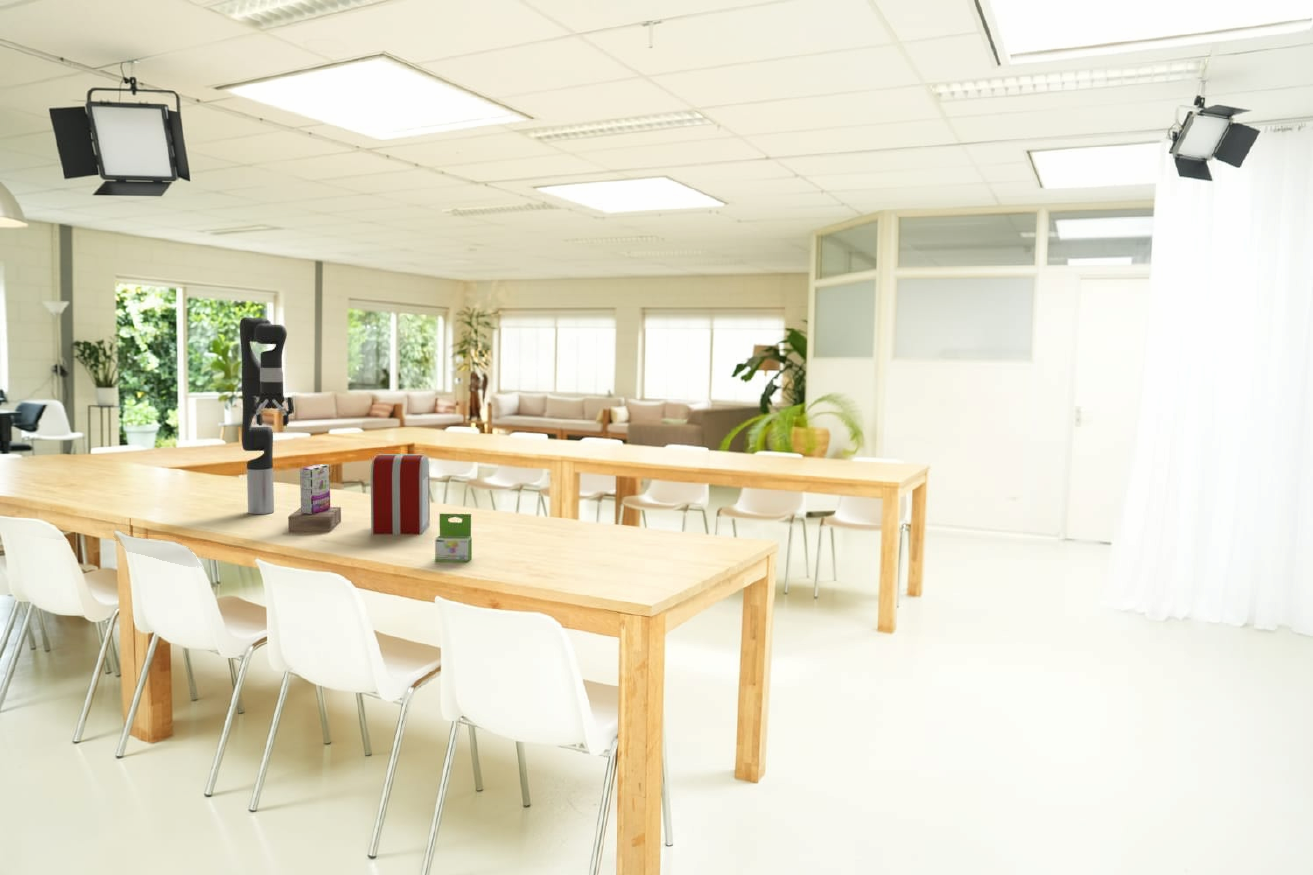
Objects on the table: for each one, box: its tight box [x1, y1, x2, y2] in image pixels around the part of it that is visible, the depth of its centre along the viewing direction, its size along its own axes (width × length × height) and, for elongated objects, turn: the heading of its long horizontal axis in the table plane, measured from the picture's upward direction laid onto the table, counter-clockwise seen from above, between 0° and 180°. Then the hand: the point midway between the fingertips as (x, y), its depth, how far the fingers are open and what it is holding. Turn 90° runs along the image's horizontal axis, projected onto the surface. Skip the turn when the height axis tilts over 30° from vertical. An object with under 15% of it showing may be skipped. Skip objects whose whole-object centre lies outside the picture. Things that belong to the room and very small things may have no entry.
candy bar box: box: [299, 463, 331, 514], centre depth 311 cm, size 11×5×16 cm, turn 167°
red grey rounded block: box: [370, 453, 431, 535], centre depth 309 cm, size 16×18×27 cm
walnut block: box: [287, 506, 342, 533], centre depth 312 cm, size 18×14×6 cm
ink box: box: [434, 513, 473, 563], centre depth 267 cm, size 10×5×14 cm, turn 90°
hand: (272, 425), depth 313 cm, fingers open, 8 cm apart
